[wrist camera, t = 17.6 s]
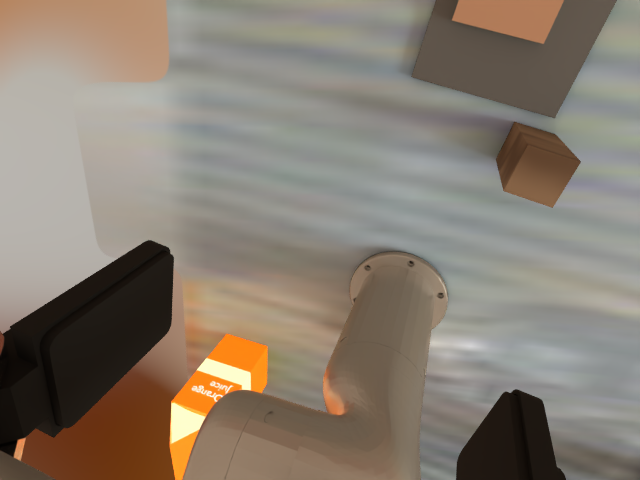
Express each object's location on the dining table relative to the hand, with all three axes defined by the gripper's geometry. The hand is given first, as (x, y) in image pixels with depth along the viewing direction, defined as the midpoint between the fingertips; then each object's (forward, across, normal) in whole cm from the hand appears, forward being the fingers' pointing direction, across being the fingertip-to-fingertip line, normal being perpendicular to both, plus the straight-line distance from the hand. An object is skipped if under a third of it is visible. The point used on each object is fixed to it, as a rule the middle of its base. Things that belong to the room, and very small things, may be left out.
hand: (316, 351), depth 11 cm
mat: (+36, -4, -11) cm, 38 cm away
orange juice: (+36, +15, +46) cm, 61 cm away
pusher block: (+36, -10, 0) cm, 38 cm away
